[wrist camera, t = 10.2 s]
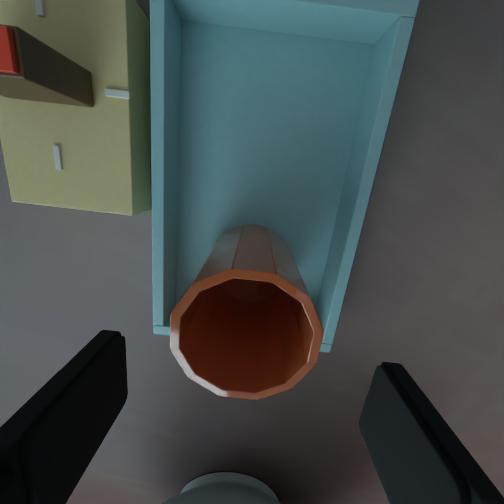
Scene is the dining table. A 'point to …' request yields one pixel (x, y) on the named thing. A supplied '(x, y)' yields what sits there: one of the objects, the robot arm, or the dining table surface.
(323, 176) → the blue tray
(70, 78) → the brown switch lever
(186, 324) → the cup
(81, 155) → the switch panel
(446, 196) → the dining table surface
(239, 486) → the decorative bowl
